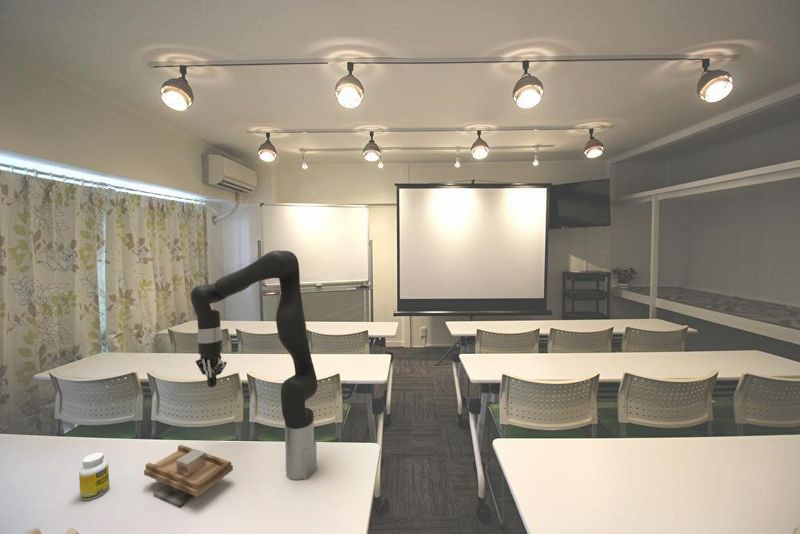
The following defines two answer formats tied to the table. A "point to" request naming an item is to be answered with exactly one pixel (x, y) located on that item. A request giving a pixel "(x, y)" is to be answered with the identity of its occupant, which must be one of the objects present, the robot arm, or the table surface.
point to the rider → (191, 462)
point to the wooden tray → (185, 477)
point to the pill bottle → (94, 476)
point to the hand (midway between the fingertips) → (212, 386)
